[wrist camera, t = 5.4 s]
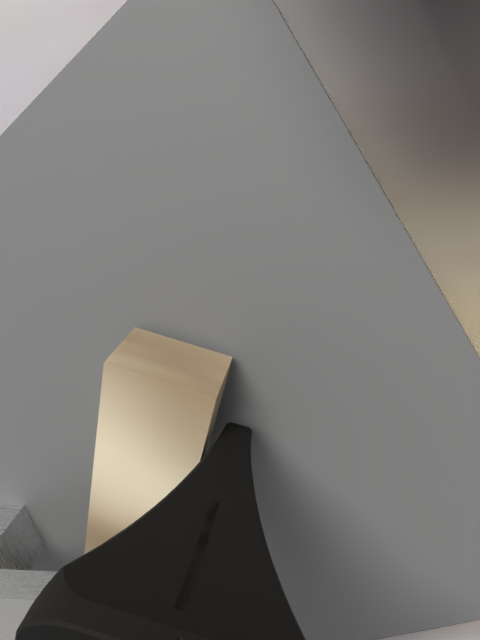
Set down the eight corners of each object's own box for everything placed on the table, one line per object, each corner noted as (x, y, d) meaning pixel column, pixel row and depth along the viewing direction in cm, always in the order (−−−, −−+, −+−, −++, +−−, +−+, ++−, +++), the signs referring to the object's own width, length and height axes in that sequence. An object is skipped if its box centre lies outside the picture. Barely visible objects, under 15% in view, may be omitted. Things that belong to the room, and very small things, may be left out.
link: (163, 655, 21) (136, 741, 18) (83, 627, 21) (45, 708, 18) (249, 361, 13) (225, 436, 10) (118, 322, 13) (59, 383, 10)
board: (148, 653, 25) (138, 684, 23) (-181, 350, 19) (-220, 369, 17) (592, 553, 16) (615, 594, 15) (232, -70, 10) (217, -95, 9)
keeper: (0, 543, 20) (-67, 633, 17) (-24, 504, 19) (-100, 591, 16) (200, 549, 17) (169, 656, 14) (185, 505, 16) (148, 608, 13)
